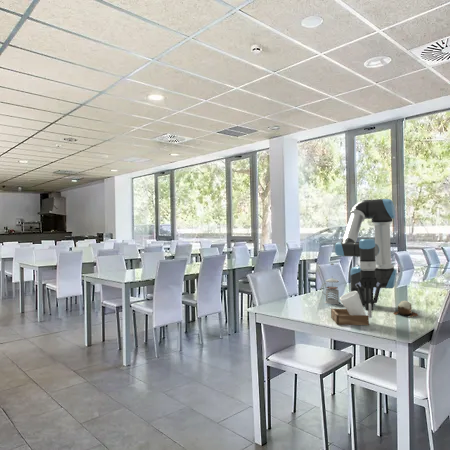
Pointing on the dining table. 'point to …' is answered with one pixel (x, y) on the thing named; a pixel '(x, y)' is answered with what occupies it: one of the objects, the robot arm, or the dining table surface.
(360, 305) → the foam cup
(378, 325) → the dining table surface
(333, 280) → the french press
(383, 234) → the robot arm
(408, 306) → the white and brown lump
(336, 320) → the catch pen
